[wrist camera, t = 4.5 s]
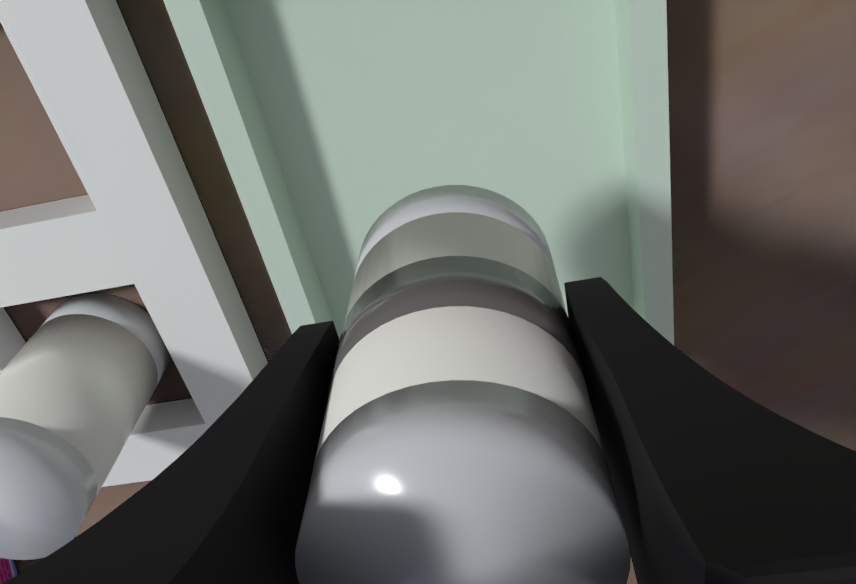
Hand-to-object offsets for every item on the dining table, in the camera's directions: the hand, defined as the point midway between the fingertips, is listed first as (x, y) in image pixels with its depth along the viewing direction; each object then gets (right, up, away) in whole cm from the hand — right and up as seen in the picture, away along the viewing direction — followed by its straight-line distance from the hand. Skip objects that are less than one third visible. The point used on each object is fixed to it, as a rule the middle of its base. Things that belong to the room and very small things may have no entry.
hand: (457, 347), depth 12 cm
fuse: (-11, -1, +11) cm, 16 cm away
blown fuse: (0, +1, +2) cm, 2 cm away
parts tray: (0, +5, +7) cm, 9 cm away
